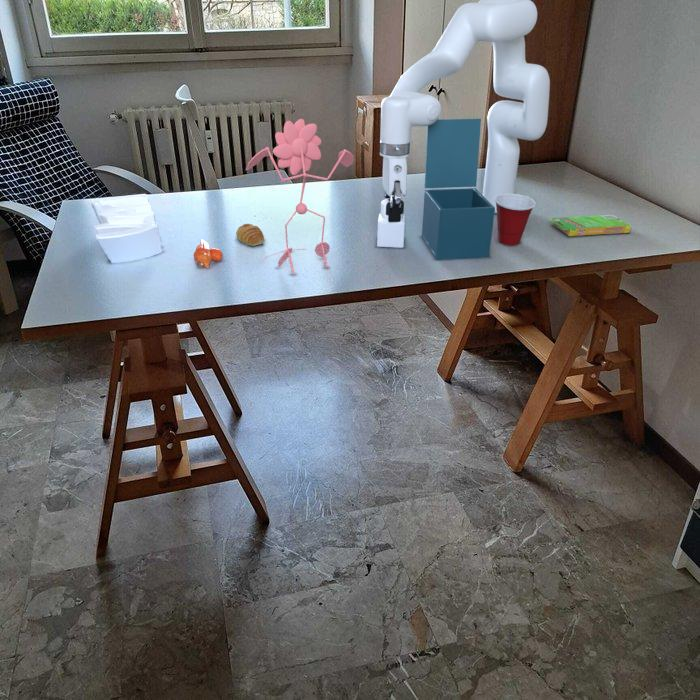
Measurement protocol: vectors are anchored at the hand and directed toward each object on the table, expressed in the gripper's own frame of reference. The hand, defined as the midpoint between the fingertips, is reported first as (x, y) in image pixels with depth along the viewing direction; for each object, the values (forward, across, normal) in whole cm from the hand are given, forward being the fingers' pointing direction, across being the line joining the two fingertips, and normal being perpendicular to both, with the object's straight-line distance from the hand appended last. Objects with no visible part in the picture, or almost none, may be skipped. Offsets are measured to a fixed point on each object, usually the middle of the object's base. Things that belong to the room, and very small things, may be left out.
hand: (391, 216), depth 176 cm
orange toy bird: (+8, -8, +48) cm, 50 cm away
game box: (+8, +4, -58) cm, 59 cm away
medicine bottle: (+8, 0, 0) cm, 8 cm away
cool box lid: (-15, +4, -16) cm, 23 cm away
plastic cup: (+8, -3, -32) cm, 34 cm away
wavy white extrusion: (+8, +7, +70) cm, 71 cm away
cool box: (+7, -4, -16) cm, 19 cm away
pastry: (+8, +6, +38) cm, 39 cm away
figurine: (+8, -10, +26) cm, 28 cm away
